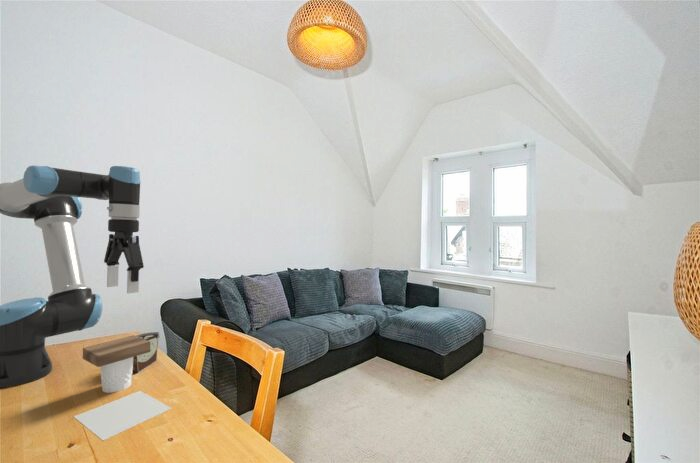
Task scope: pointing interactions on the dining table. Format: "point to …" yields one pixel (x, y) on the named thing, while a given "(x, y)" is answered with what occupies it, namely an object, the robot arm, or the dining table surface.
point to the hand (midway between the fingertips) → (122, 289)
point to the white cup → (116, 375)
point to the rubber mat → (121, 414)
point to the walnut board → (115, 350)
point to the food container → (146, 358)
